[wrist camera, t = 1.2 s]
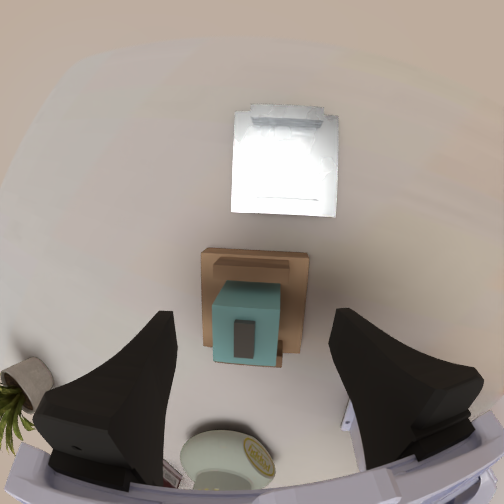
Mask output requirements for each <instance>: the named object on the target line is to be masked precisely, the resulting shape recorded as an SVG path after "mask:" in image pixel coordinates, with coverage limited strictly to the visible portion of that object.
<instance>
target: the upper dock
mask: <svg viewBox="0 0 504 504" xmlns="http://www.w3.org/2000/svg"><path fill="white" fill-rule="evenodd" d="M308 269H309V256H308V254H307V253H300V252H281V251H262V250H242V249H223V248H207V249H205V250H204V251H203V252H201V289H202V324H203V346H207V347H213V335H212V304H213V302H214V301H215V299H216V297H217V296H218V294H219V292H220V291H221V289H222V288H223V286H224V284H225V283H226V281H227V280H231V281H246V282H263V283H280V318H279V331H278V344H277V355H276V366H262V367H278V368H281V367H282V356H283V353H300V346H301V338H302V330H303V321H304V312H305V302H306V292H307V281H308ZM215 362H217V361H215ZM218 363H226V362H218ZM227 364H236V363H227ZM237 365H247V364H237ZM249 366H260V365H249Z"/></svg>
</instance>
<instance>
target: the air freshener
mask: <svg viewBox="0 0 504 504" xmlns="http://www.w3.org/2000/svg"><path fill="white" fill-rule="evenodd" d="M180 461H181V464H182V467H183V469H184V471H185V472H186V474H187V475H188V476H189V477H190V478H191V480H193V481H194V482H195V484H194V487H193V490H214V491H231V490H256V489H262V488H264V487H266V486H267V485H268V484H269V483H270V482H271V481H272V480H273V478H274V476H275V473H276V471H275V465H274V463H273V460H272V458H271V456H270V455H269V453H268V451H267V450H266V449H265V447H264V446H263V445H262V444H261V443H260V442H259V441H258V440H257V439H255V438H254V437H252V436H249V435H247V434H244V433H240V432H236V431H229V430H213V431H207V432H203V433H200V434H197V435H195V436H193V437H192V438H190V439H189V440H188V441H187V442H186V443H185V444H184V446H183V448H182V450H181V453H180Z"/></svg>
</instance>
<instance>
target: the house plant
mask: <svg viewBox="0 0 504 504" xmlns="http://www.w3.org/2000/svg"><path fill="white" fill-rule="evenodd" d="M0 376H1V380H2V383H0V384H3V386H0V416H1V417H0V420H1V422H0V449H1V441H2V438H3V432H4V428H5V426H6V424H7V426H6V449H7V450H8V446H9V448H10V450H11V451H12V453H13V454H14V455H15V453H14V449H13V440H12V425H13V430H14V433H15V435H16V436H17V437H18V438H19V439H20V440H22V441H23V438H22V436H21V433H20V430H19V427H18V415H19V416H20V419H21V421H22V424H23V426H24V428H25V429H26V430H27V431H31V430H34V428H32V427H31V426H34V424H32V423H31V422H29V421H28V420H27V419H26V418H24V417H23V415H22V417H23V418H24V420H23V419H22V418H21V414H22V413H21V410H23V411H24V412H26V413H28V414H34V412H35V411H36V409H37V407H38V405H39V403H40V401H41V399H42V397H43V395H44V393H45V392H46V391H49V390H50V389H51V387H52V386H53V383H54V381H53V377H52V375H51V373H50V371H49V370H48V368H47V367H46V365H45V364H44V363H43V362H42V361H41V360H39V359H38V358H36V357H31V358H29V359H27V360H24V361H22V362H20V363H18V364H15V365H13V366H11V367H9V368H7V369H4V370H2V371H1V373H0ZM4 413H5V414H4ZM3 414H4V415H3ZM2 416H3V417H2ZM1 418H2V419H1ZM10 440H11V443H10ZM7 443H8V446H7ZM15 456H16V455H15Z"/></svg>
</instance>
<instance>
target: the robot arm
mask: <svg viewBox="0 0 504 504" xmlns="http://www.w3.org/2000/svg"><path fill="white" fill-rule="evenodd" d="M328 344H329V347H330V351H331V355H332V358H333V361H334V364H335V366H336V368H337V371H338V373H339V375H340V377H341V380H342V382H343V384H344V386H345V389H346V391H347V393H348V395H349V398H350V399H349V402H348V406H347V409H346V412H345V415H344V418H343V421H342V425H341V430H342V431H350V434H351V439H352V443H353V448H354V452H355V457H356V461H357V466H358V469H359V470H360V472H359V473H355V474H352V475H348V476H343V477H339V478H335V479H330V480H325V481H320V482H314V483H309V484H302V485H295V486H288V487H279V488H269V489H256V490H231V491H214V490H190V489H177V488H167V487H163V446H164V429H165V416H166V409H167V404H168V399H169V395H170V390H171V386H172V382H173V377H174V373H175V368H176V360H177V350H178V346H177V339H176V332H175V324H174V316H173V311H158V312H157V313H156V315H155V316H154V317H153V318H152V319H151V320H150V321H149V322H148V323H147V325H146V326H145V327H144V328H143V329H142V330H141V331H140V332H139V333H138V334H137V335H136V336H135V337H134V338H133V339H132V340H131V341H130V342H129V343H128V344H127V345H126V346H125V347H124V348H123V349H122V350H121V351H120V352H118V353H117V354H116V355H115V356H113V357H112V358H111V359H109V360H108V361H107V362H105V363H104V364H102V365H101V366H99V367H98V368H96V369H94V370H93V371H91V372H90V373H88V374H86V375H84V376H82V377H80V378H78V379H76V380H74V381H72V382H70V383H68V384H65V385H63V386H60V387H57V388H55V389H52V390H49V391H46V392H45V393H44V395H43V397H42V399H41V401H40V403H39V405H38V407H37V409H36V411H35V413H34V416H33V419H32V420H33V423H34V426H35V427H36V429H37V430H38V432H39V433H40V434H41V435H42V437H43V438H44V439H45V440H46V441H47V442H48V443H49V445H50V446H51V447H52V448H53V451H52V454H51V455H50V454H48V453H47V452H45V451H43V450H41V449H38V448H35V447H33V446H31V445H29V444H26V443H24V442H21V444H20V447H19V449H18V452H17V454H16V457H15V459H14V462H13V465H12V467H11V470H10V473H9V476H8V479H7V482H6V485H5V488H4V490H5V491H6V492H7V493H8V494H10V495H11V496H12V497H14V498H15V499H17V500H18V501H20V502H21V503H23V504H489V503H490V501H491V499H492V498H493V496H494V494H495V492H496V489H497V486H496V483H497V478H496V476H495V474H494V473H493V471H492V469H491V467H492V466H493V465H494V464H495V463H496V462H497V461H498V460H499V459H500V458H502V457H503V455H504V428H503V427H502V425H501V424H500V422H499V421H498V419H497V418H496V417H495V415H494V414H493V412H492V411H491V410H489V411H487V412H486V413H484V414H482V415H480V416H479V417H477V418H476V419H474V420H473V421H472V422H470V420H469V419H468V418H469V417H470V416H471V413H470V411H469V410H468V408H469V407H470V406H471V404H472V403H473V401H474V400H475V399H476V397H477V396H478V394H479V393H480V391H481V390H482V387H483V384H484V379H483V378H482V376H481V375H480V374H479V373H478V371H477V370H476V369H475V368H474V367H469V366H464V365H458V364H454V363H450V362H446V361H443V360H440V359H437V358H434V357H431V356H429V355H426V354H424V353H421V352H419V351H417V350H415V349H413V348H411V347H409V346H407V345H405V344H403V343H401V342H399V341H398V340H396V339H394V338H393V337H391V336H389V335H388V334H386V333H385V332H383V331H382V330H380V329H379V328H377V327H376V326H375V325H373V324H372V323H370V322H369V321H367V320H366V319H365V318H363V317H362V316H360V315H359V314H358V313H356V312H355V311H353V310H351V309H350V308H339V309H336V314H335V318H334V322H333V327H332V331H331V335H330V339H329V343H328ZM346 421H348V422H346Z"/></svg>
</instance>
